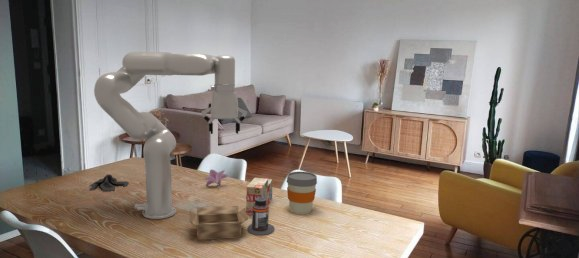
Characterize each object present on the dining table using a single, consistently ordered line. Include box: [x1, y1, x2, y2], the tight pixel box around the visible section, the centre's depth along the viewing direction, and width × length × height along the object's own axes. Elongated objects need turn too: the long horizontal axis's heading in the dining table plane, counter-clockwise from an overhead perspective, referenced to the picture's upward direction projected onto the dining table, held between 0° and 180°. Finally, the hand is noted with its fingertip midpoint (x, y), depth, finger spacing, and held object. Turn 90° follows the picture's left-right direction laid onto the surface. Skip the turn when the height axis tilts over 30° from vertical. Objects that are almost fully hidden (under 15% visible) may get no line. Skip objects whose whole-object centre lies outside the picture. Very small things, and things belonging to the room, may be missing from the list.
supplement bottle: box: [251, 197, 270, 231], centre depth 151 cm, size 6×6×11 cm
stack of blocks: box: [245, 177, 273, 217], centre depth 174 cm, size 21×6×12 cm, turn 170°
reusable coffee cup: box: [286, 171, 318, 215], centre depth 171 cm, size 12×12×15 cm
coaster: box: [246, 223, 275, 236], centre depth 152 cm, size 10×10×1 cm
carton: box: [188, 205, 249, 241], centre depth 148 cm, size 20×15×7 cm
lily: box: [202, 168, 230, 191], centre depth 197 cm, size 12×12×10 cm
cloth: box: [88, 174, 130, 193], centre depth 194 cm, size 22×19×6 cm
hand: (224, 133), depth 159 cm, fingers open, 9 cm apart
